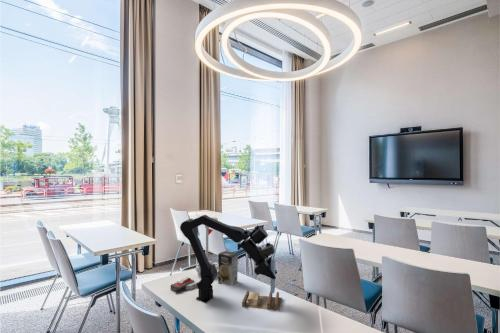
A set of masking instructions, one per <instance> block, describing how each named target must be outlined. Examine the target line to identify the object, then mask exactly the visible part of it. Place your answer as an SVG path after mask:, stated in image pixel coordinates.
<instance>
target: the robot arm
mask: <svg viewBox="0 0 500 333" xmlns="http://www.w3.org/2000/svg"><path fill="white" fill-rule="evenodd" d="M202 225H204V227H205V226H208V227H209V229H211V230H213V231H214V230H215V231H217V232H220V233H222V234H223V235H225V236H226V237H227V238H228V239H229V240H231V241H233V242H234V243H237V251H240V250H241V249H242V250H243V251H244V252H245V253H246V254H247V255H248V258H249V260H252V261H253V263H255V268H254V273H255V275H256V276H259V275H263V276H265V277H267V278H270V279H271V278H272V279H275V280H276V279H277V277H276V275H277V273H278V270H277V269H276V268H275V275H274V274H273V272H272V271H271V260H272V258H273V257H272V255H274V254H275V253H276V250H275V245H274V244H273V243H271V242H267V243H265V246H264V247H263V248H262V247H261V246H258V245H260V244H261V243H262V242H263V241H264V240H265V239H267V238H268V237H269V234H268V232H267V231H266V230H265V229H264V228H262V227H261V226H259V224H257V225H256V226H255V227H254V228H253V230H252V231H250V230H245V229H244V228H242V227H240V226H233V225H229V224H226V223H223V221H219V220H218V219H215V218H213V217H210V216H208V215H207V214H202V215H201V216H199V217H196V218H194V219H193V218H189V219H187V220H184V221H182V222H181V224H180V226H179V229H180V232H181V233H182V234H183V236H184V237H185V238H186V239H187V240H188V242H189V244H190V246H191V249H192V251H193V253H194V256H195V258H196V260H197V264H199V266H200V275H201V277H200V280H199V281H198V282H199V283H198V284H197V287H196V288H197V289H198V296H197V297H196V299H195V300H198V301H201V302H203V303H209V301H211V300H212V299H213V298H214V289H213V285H212V284H214V282H215V280H216V279H217V278H218V270H216V268H215V264H214V263H213V265H211V264H210V263H209V261H210V260H209V258H208V259H207V257H206V251H205V250H204V248H203V245H202V242H201V240H200V238H199V233H198V229H199V228H198V227H200V226H202Z"/></svg>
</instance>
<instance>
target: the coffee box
mask: <svg viewBox="0 0 500 333" xmlns="http://www.w3.org/2000/svg"><path fill="white" fill-rule="evenodd" d="M217 255H218V256H217V258H218V259H217V260H218V262H217V264H218V270H217V271H218V272H217V281H218V282H217V283H218V284H220V285H221V284H225V285H228V286H233V285H235V284H236V283H237V282H238V271H239V270H238V269H239V268H238V267H239V266H238V264H239V259H238V258H239V253H235V252H231V251H226V250H225V251H222V252H219V253H218V254H217Z"/></svg>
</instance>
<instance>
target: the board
mask: <svg viewBox="0 0 500 333" xmlns="http://www.w3.org/2000/svg"><path fill="white" fill-rule="evenodd" d="M275 269H276V258H275V257H272V259H271V271H272V272H273V274H274V275H275V276H276V274H275ZM275 288H276V279H272V278H270V291H271V293H272V294H275V290H276V289H275Z"/></svg>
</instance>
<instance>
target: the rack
mask: <svg viewBox="0 0 500 333" xmlns="http://www.w3.org/2000/svg"><path fill="white" fill-rule="evenodd" d="M249 294H250V290H246V292H245V294H244V297H243V299H242V301H241V308H249V309H259V310H269V311H270V310H271V311H279V312H280V311H281V306H282V299H283V298H282V297H280V292H279V291H276V295H275V296H273V293H271V290H270V291H269V293H268V296H266V295H259V300H258V304H257V306H252V305H246V301H247V298H248V296H249Z"/></svg>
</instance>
